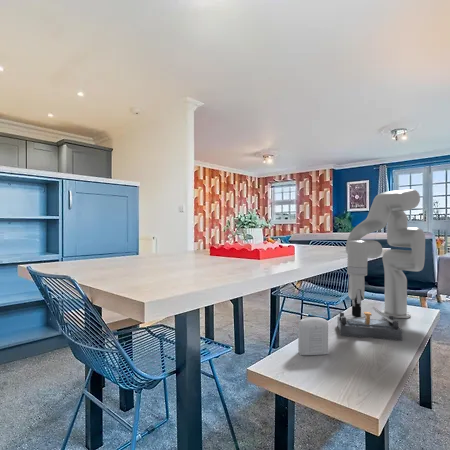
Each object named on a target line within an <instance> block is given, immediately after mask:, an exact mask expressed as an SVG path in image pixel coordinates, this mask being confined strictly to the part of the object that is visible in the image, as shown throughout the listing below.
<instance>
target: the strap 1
mask: <svg viewBox="0 0 450 450" xmlns="http://www.w3.org/2000/svg"><path fill="white" fill-rule="evenodd" d="M342 317H346V321H349V320H355V319H361V318H364V319H365V318H366V317H365V314H364V312H361V316H360V317H356V316H352V314H348V315H344V316H341V320H342Z"/></svg>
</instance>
